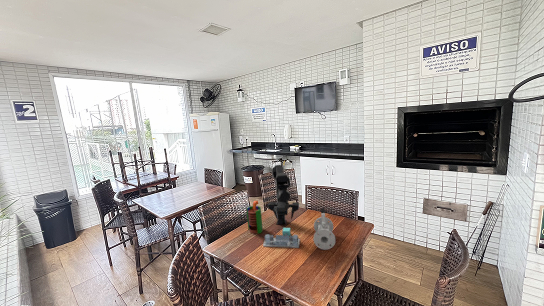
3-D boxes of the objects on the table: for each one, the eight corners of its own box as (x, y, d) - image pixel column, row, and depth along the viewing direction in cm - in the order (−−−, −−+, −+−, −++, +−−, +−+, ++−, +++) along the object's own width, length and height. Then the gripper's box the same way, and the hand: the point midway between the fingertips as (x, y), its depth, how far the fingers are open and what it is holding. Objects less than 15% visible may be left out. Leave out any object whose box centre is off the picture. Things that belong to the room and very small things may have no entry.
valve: (335, 250, 121) (335, 224, 119) (313, 249, 124) (312, 224, 121) (333, 230, 142) (332, 208, 140) (314, 229, 145) (313, 208, 143)
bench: (266, 239, 138) (265, 232, 137) (299, 240, 133) (299, 233, 133) (263, 246, 130) (262, 238, 129) (298, 247, 126) (298, 240, 125)
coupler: (282, 239, 136) (282, 232, 136) (284, 233, 144) (283, 226, 143) (289, 239, 135) (289, 232, 135) (290, 233, 143) (290, 226, 142)
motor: (245, 232, 148) (243, 203, 145) (252, 226, 156) (250, 199, 153) (258, 234, 143) (256, 205, 140) (265, 228, 151) (263, 200, 148)
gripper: (265, 199, 129) (266, 224, 131) (296, 200, 125) (298, 225, 127) (269, 193, 140) (270, 216, 142) (298, 193, 136) (299, 217, 138)
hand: (284, 218), depth 137 cm, fingers open, 9 cm apart
